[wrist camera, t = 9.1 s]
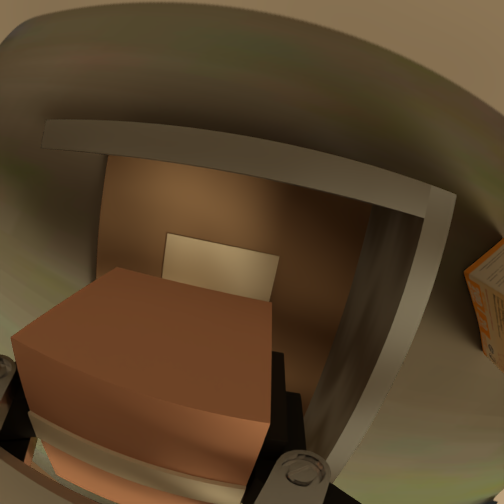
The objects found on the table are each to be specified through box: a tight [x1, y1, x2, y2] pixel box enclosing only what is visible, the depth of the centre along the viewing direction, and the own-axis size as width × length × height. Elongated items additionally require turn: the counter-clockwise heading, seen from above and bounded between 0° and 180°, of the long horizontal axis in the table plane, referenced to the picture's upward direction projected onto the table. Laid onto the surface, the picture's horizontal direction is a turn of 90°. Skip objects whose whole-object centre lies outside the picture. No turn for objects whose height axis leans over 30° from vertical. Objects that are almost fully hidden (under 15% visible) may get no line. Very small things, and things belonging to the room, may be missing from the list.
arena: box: [41, 119, 457, 483], centre depth 14 cm, size 16×16×7 cm
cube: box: [11, 267, 272, 504], centre depth 8 cm, size 6×6×6 cm
